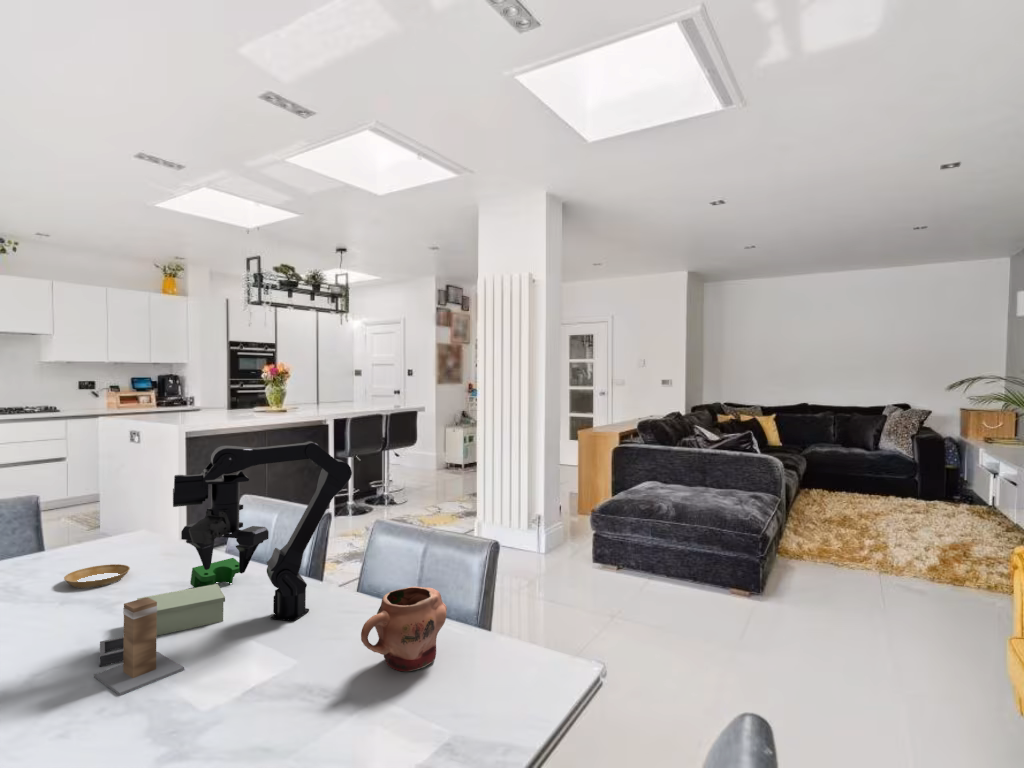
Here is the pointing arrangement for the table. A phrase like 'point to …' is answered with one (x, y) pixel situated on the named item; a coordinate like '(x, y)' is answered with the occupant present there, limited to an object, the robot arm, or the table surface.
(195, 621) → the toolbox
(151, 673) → the mat
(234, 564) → the clamp
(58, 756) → the table surface
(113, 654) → the dark grey square frame
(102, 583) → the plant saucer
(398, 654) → the terracotta mug
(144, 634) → the banded wooden block
